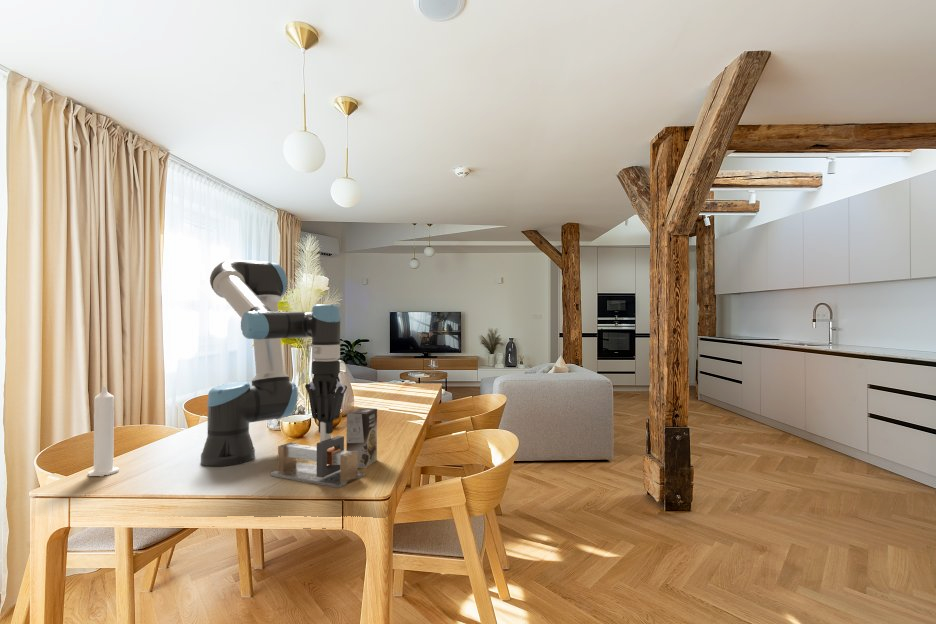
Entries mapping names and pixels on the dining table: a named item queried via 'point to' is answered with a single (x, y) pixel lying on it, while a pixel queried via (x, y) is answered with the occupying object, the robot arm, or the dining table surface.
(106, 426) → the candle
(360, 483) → the dining table surface
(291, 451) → the rail
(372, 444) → the coffee box
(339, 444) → the grey square ring
